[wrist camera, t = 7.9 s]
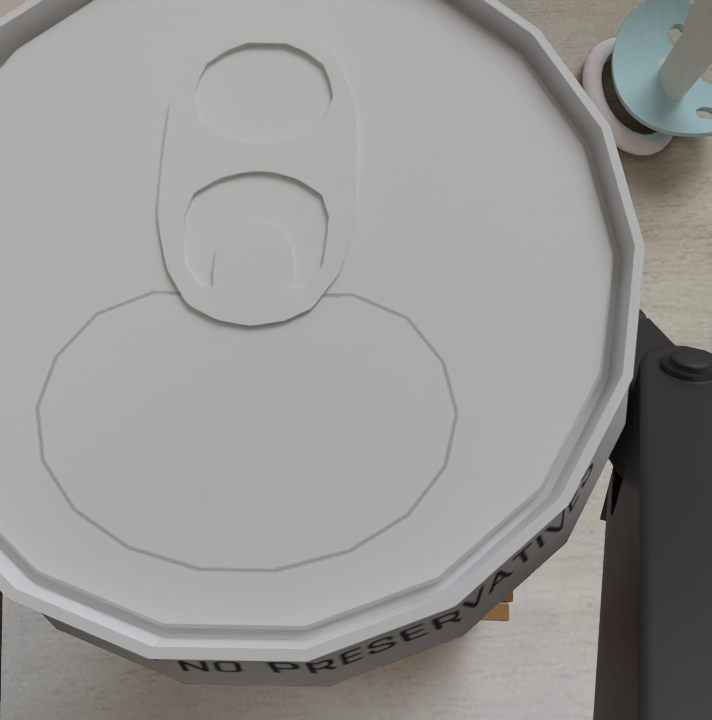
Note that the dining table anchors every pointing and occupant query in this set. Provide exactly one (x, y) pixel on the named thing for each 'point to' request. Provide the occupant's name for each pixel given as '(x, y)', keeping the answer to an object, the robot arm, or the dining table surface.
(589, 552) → the dining table surface
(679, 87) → the pacifier
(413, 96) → the supplement can
